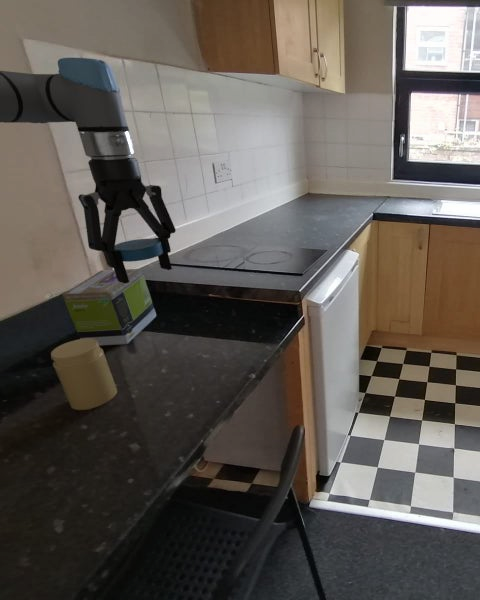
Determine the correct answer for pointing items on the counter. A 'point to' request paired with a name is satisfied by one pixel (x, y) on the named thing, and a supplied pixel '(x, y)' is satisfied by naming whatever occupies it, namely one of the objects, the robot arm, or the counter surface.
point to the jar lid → (139, 249)
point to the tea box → (110, 307)
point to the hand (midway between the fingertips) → (145, 274)
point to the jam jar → (84, 373)
